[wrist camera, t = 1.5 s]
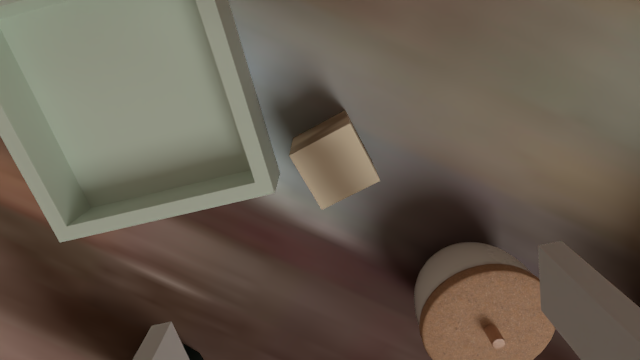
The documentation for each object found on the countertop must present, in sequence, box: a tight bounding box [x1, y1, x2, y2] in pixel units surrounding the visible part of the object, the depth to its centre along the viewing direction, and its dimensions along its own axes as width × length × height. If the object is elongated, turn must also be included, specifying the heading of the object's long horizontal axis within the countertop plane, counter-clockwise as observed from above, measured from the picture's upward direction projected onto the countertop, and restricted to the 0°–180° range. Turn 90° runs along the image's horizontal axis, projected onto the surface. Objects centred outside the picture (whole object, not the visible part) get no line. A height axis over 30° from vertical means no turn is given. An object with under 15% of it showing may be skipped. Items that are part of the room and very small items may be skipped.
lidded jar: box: [414, 242, 555, 360], centre depth 33 cm, size 11×11×9 cm
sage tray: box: [0, 0, 280, 242], centre depth 29 cm, size 18×18×4 cm
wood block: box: [289, 110, 380, 209], centre depth 31 cm, size 5×5×5 cm
